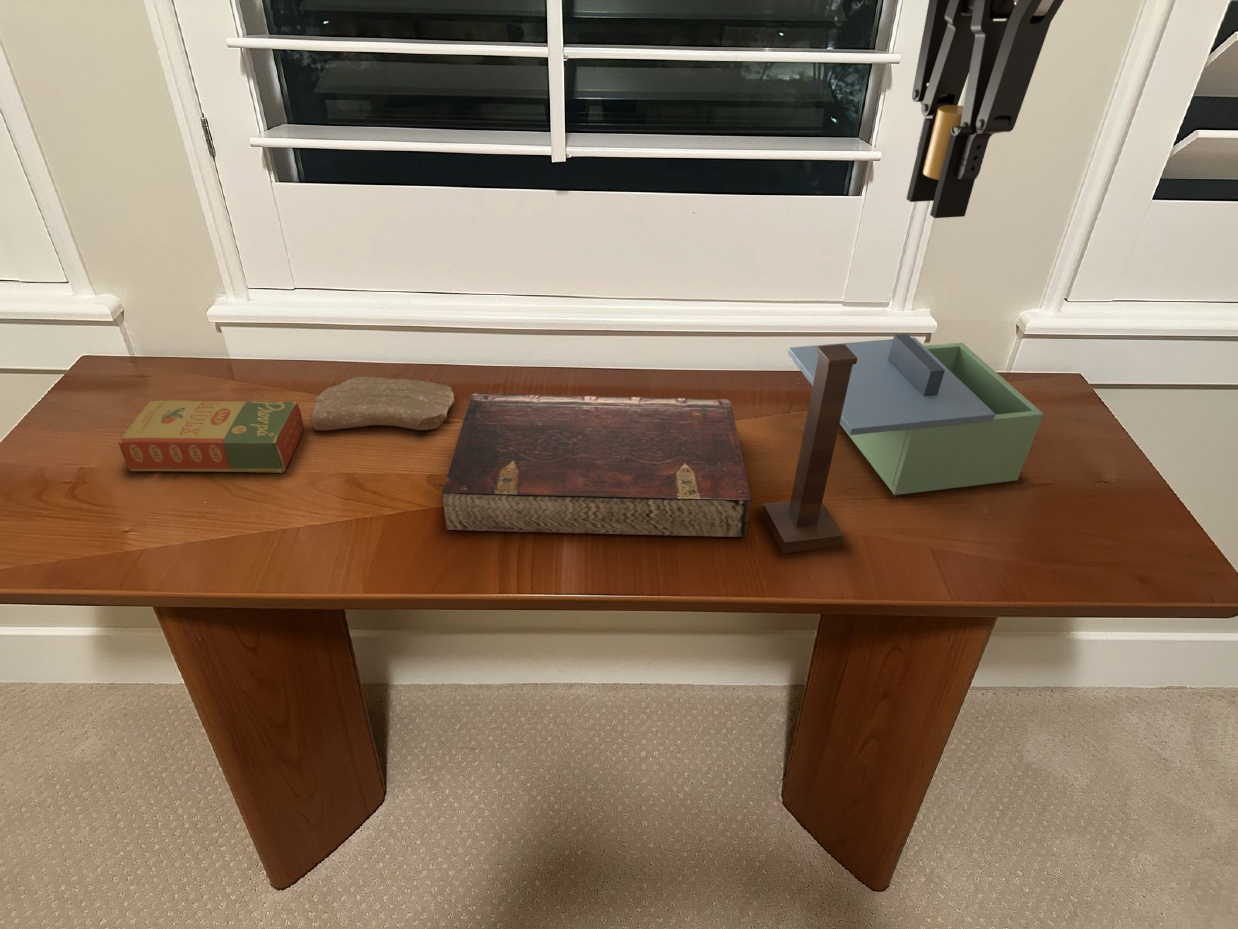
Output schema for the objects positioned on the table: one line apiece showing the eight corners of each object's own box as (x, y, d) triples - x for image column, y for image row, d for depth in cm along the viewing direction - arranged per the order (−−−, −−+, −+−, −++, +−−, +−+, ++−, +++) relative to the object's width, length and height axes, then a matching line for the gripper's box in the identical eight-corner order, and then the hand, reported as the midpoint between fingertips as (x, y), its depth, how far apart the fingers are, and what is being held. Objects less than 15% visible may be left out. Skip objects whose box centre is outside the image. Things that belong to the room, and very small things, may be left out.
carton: (161, 429, 93) (150, 397, 90) (306, 430, 94) (299, 397, 91) (129, 474, 86) (115, 440, 84) (285, 474, 87) (276, 440, 84)
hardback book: (725, 432, 96) (730, 395, 93) (744, 540, 81) (751, 500, 78) (475, 425, 95) (471, 388, 92) (447, 532, 80) (442, 492, 77)
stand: (840, 546, 80) (886, 366, 68) (782, 554, 79) (818, 372, 67) (816, 508, 85) (854, 332, 73) (761, 514, 84) (790, 338, 72)
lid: (993, 420, 83) (1005, 388, 81) (850, 435, 80) (857, 402, 78) (913, 343, 96) (921, 313, 94) (787, 353, 93) (792, 323, 91)
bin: (1017, 480, 90) (1044, 414, 85) (894, 495, 87) (913, 427, 82) (943, 404, 102) (962, 342, 97) (833, 415, 99) (846, 352, 94)
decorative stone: (449, 437, 93) (446, 411, 91) (310, 436, 93) (304, 409, 91) (461, 391, 101) (459, 366, 99) (333, 390, 101) (327, 365, 99)
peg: (971, 177, 67) (990, 112, 64) (945, 183, 65) (963, 116, 62) (940, 166, 69) (956, 102, 66) (914, 172, 67) (929, 107, 65)
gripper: (1162, -139, 49) (1034, 241, 63) (1003, -142, 62) (925, 175, 76) (1052, -143, 48) (946, 247, 62) (912, -146, 60) (850, 178, 74)
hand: (935, 206), depth 69 cm, fingers closed on peg, 3 cm apart
